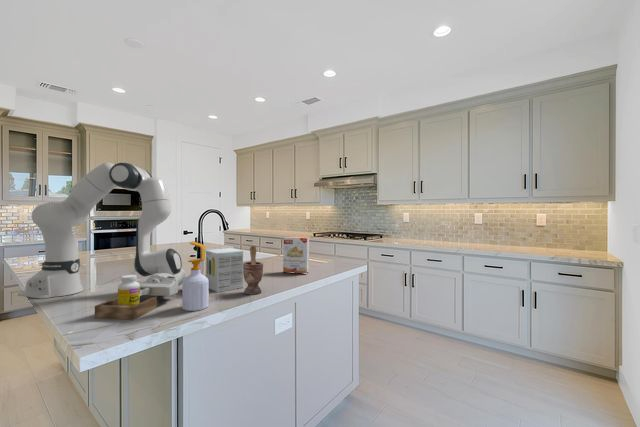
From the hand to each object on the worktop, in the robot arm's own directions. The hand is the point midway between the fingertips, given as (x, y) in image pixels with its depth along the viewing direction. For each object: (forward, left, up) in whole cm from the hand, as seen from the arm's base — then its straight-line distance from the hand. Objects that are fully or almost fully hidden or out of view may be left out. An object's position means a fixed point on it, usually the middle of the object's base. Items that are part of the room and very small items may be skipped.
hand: (135, 293), depth 114 cm
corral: (0, -4, -5) cm, 7 cm away
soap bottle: (+21, +4, -6) cm, 22 cm away
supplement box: (+20, +34, -6) cm, 40 cm away
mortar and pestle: (+35, +28, -6) cm, 45 cm away
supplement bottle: (0, -3, -6) cm, 7 cm away
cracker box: (+48, +70, -6) cm, 85 cm away
